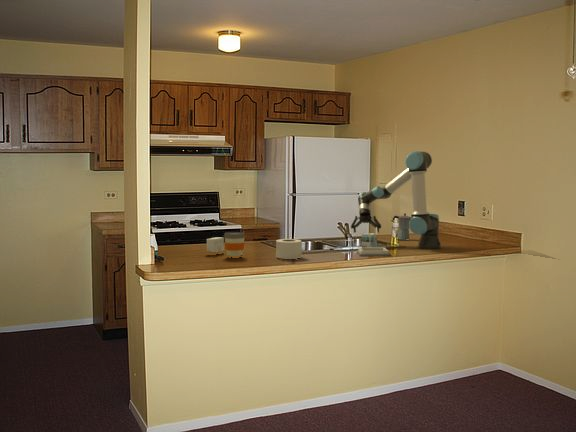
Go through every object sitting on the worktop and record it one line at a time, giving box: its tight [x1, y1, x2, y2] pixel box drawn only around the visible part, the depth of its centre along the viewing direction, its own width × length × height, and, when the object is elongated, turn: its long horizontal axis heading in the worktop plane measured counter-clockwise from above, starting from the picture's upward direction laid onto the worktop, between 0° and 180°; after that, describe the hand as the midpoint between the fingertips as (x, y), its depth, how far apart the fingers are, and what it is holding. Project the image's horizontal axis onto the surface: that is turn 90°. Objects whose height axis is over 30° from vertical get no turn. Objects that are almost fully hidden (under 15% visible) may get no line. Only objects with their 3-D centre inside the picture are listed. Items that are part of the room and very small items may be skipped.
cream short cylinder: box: [275, 238, 303, 260], centre depth 379 cm, size 16×15×11 cm
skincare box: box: [206, 236, 225, 252], centre depth 395 cm, size 10×6×10 cm, turn 152°
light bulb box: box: [361, 232, 378, 247], centre depth 414 cm, size 11×7×11 cm, turn 148°
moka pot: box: [392, 212, 411, 241], centre depth 468 cm, size 10×15×20 cm, turn 78°
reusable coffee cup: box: [223, 231, 246, 256], centre depth 381 cm, size 13×13×15 cm
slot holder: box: [356, 246, 391, 257], centre depth 395 cm, size 19×19×3 cm
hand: (366, 235), depth 417 cm, fingers open, 13 cm apart
